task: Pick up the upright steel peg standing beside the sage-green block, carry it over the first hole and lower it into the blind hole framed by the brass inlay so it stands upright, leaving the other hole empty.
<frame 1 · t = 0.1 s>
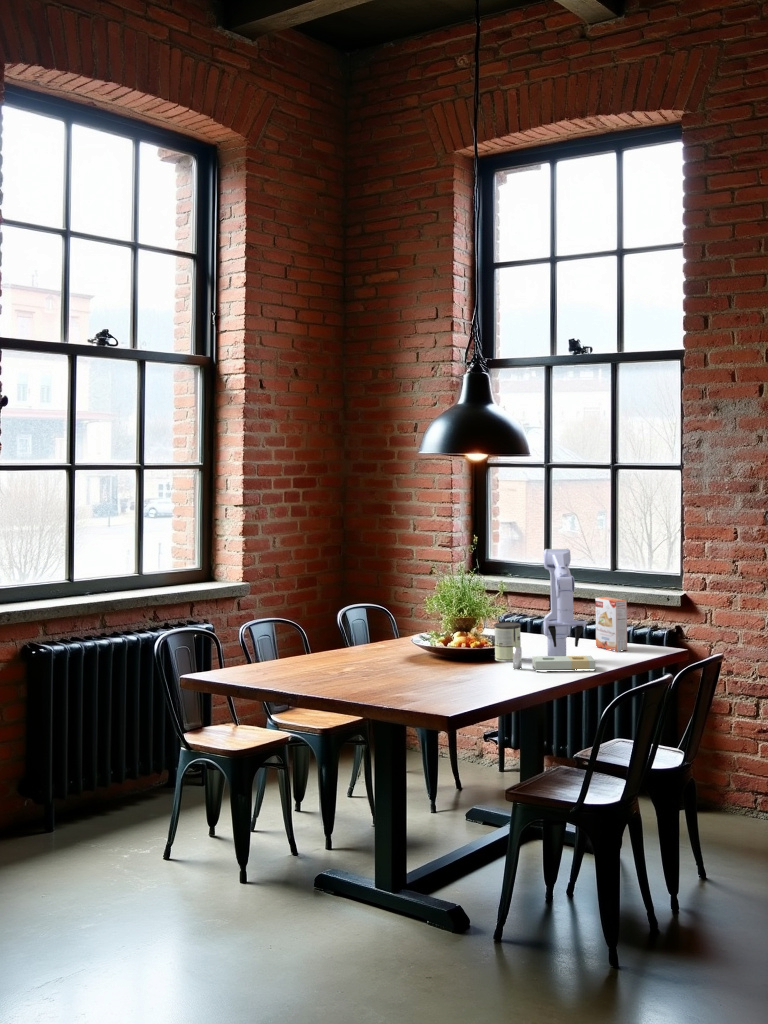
hand: (565, 646, 396), 10 cm above the table, tool pointing down, fingers open, 7 cm apart
hole block: (563, 669, 405), on the table
cracker box: (611, 649, 445), on the table
coffee can: (507, 660, 426), on the table
steel peg: (517, 668, 407), on the table
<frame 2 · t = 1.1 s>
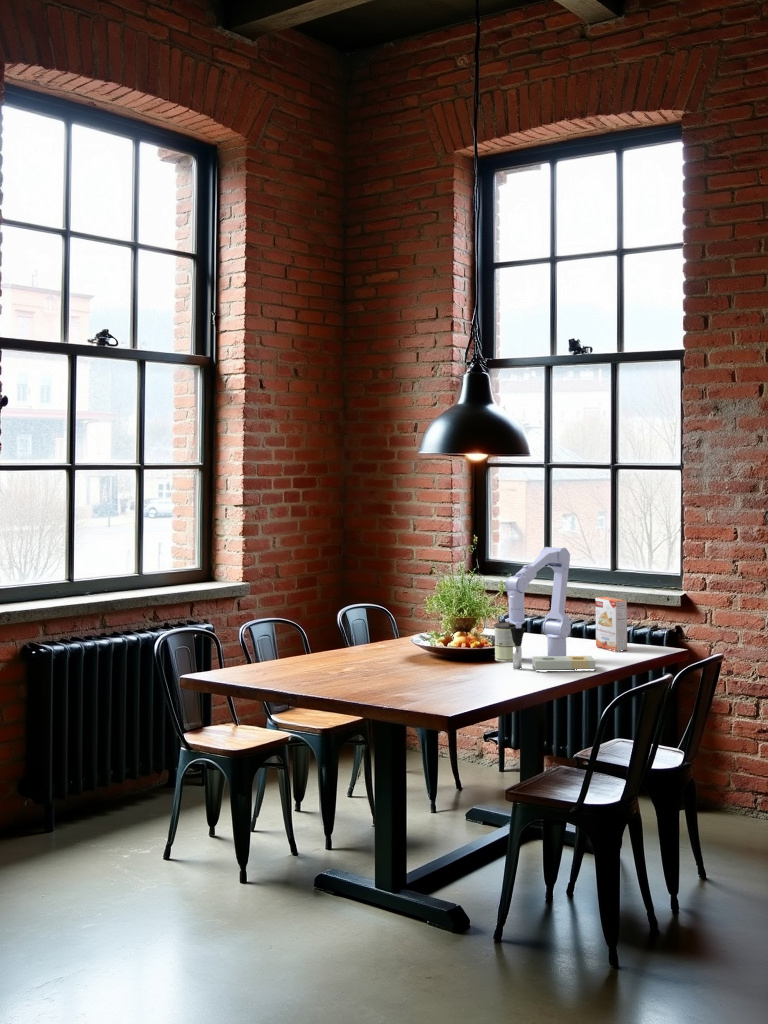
hand: (517, 644, 407), 9 cm above the table, tool pointing down, fingers open, 7 cm apart
nothing on the table moved.
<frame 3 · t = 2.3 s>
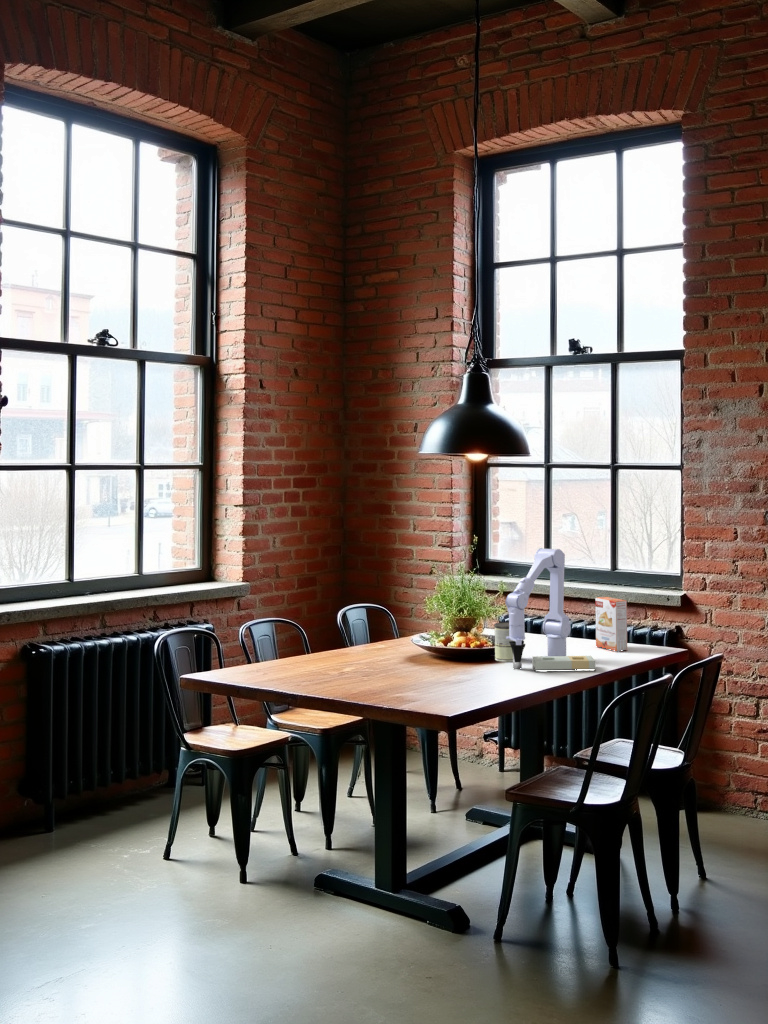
hand: (517, 661, 407), 3 cm above the table, tool pointing down, fingers closed on steel peg, 3 cm apart
steel peg: (517, 668, 407), on the table, touching gripper
everything else where it was.
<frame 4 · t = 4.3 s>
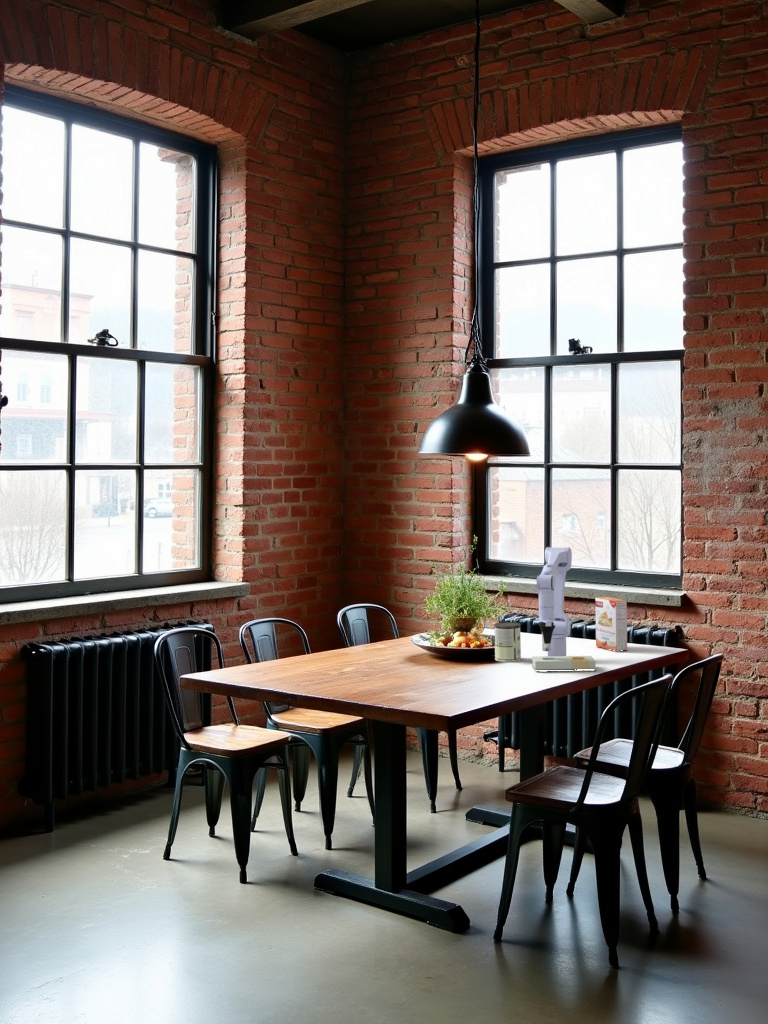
hand: (546, 642, 406), 10 cm above the table, tool pointing down, fingers closed on steel peg, 3 cm apart
steel peg: (546, 650, 406), point 7 cm above the table, touching gripper
everything else where it was.
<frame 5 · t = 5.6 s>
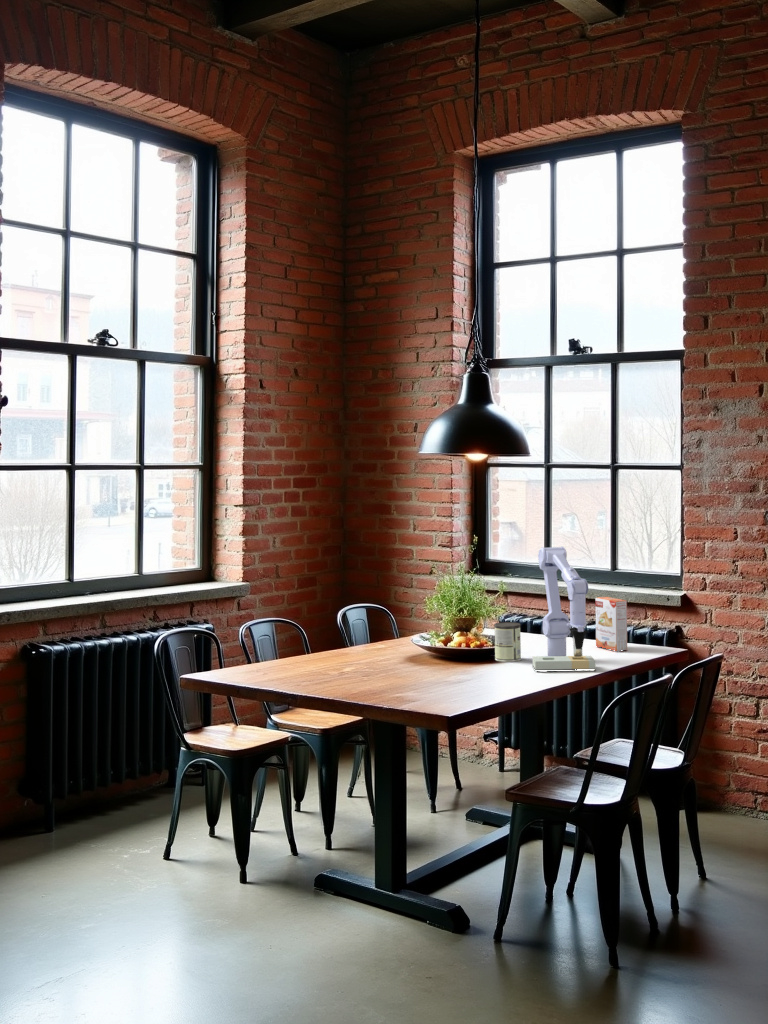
hand: (578, 648, 404), 8 cm above the table, tool pointing down, fingers closed on steel peg, 3 cm apart
steel peg: (578, 656, 404), point 5 cm above the table, touching gripper
everything else where it was.
when the fingers open (5 cm above the table, at t = 6.5 s): steel peg stays where it is, resting on hole block.
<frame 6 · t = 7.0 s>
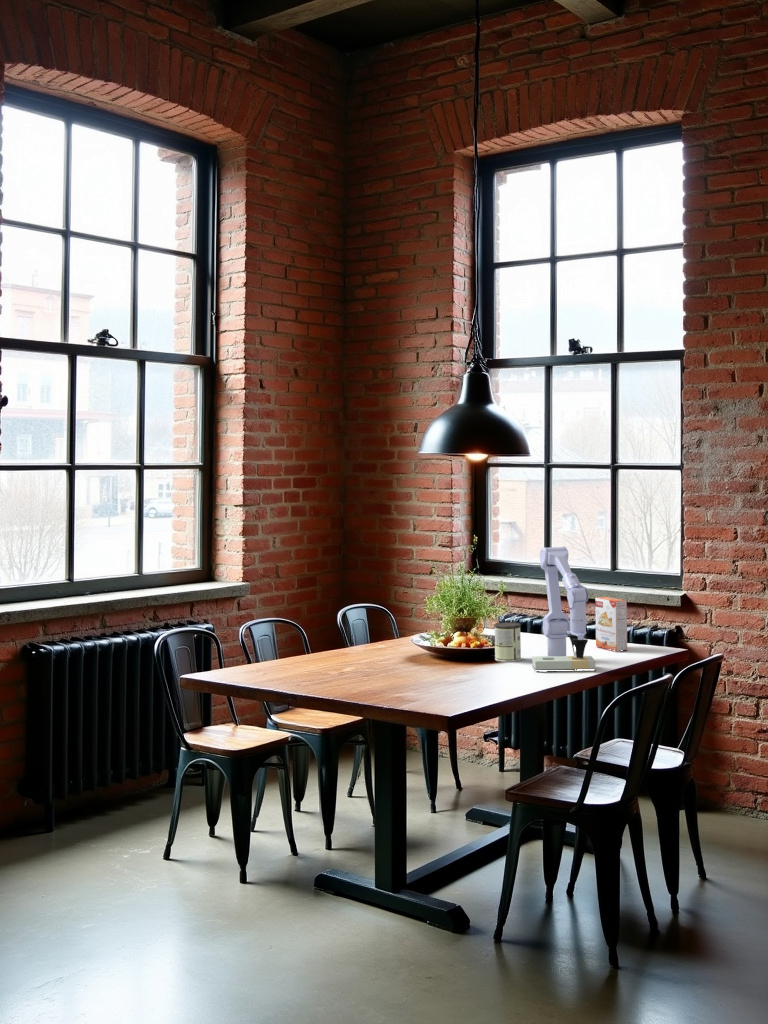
hand: (578, 655, 404), 5 cm above the table, tool pointing down, fingers open, 7 cm apart
steel peg: (578, 666, 405), point 1 cm above the table, touching hole block
everything else where it was.
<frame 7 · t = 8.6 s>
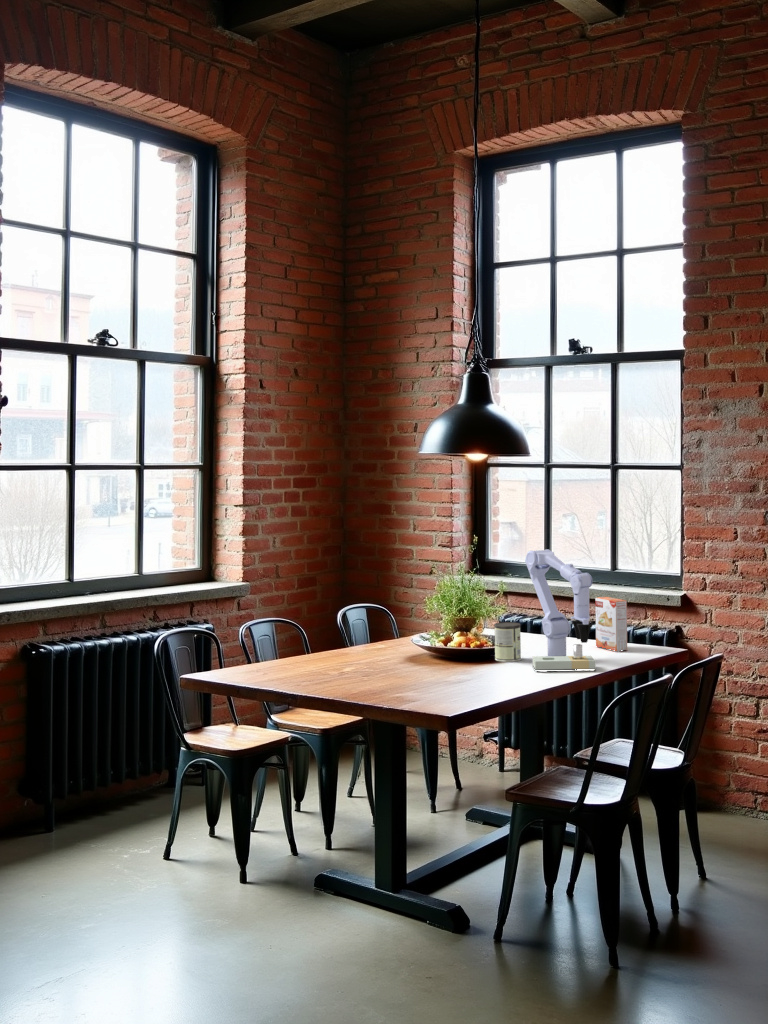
hand: (582, 640, 411), 9 cm above the table, tool pointing down, fingers open, 7 cm apart
nothing on the table moved.
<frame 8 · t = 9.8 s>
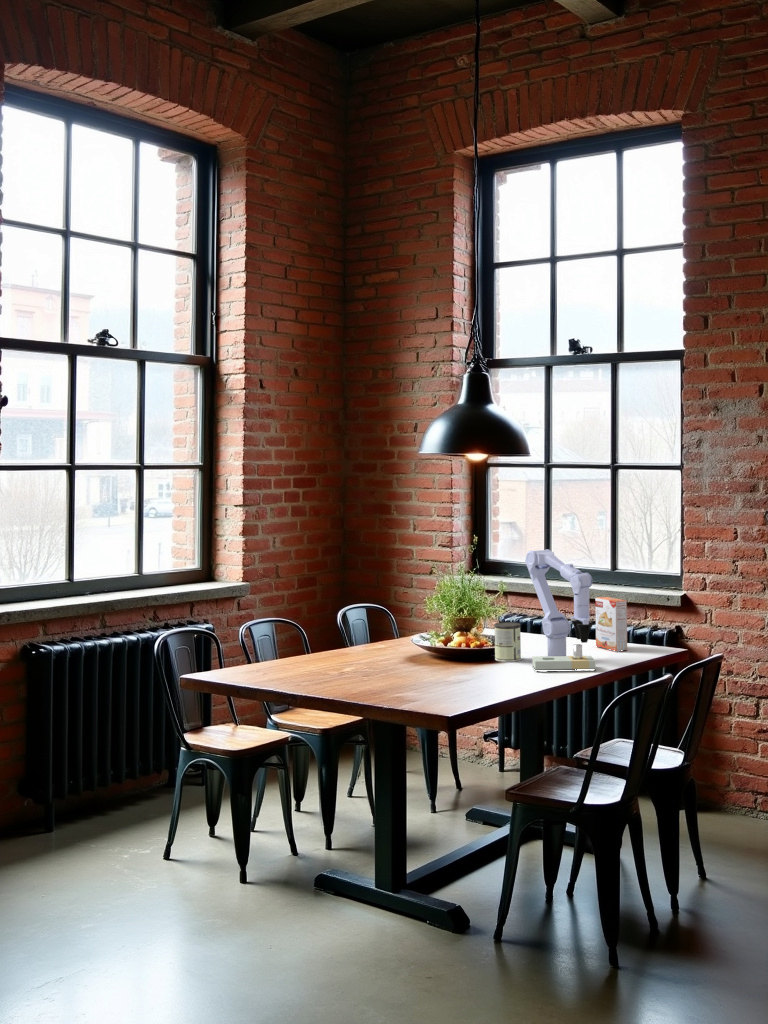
hand: (582, 640, 411), 9 cm above the table, tool pointing down, fingers open, 7 cm apart
nothing on the table moved.
at the end: steel peg 0.1 cm from the target spot on the hole block, point 1.0 cm above the hole block's base; steel peg tilted 1°; the gripper is holding nothing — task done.
